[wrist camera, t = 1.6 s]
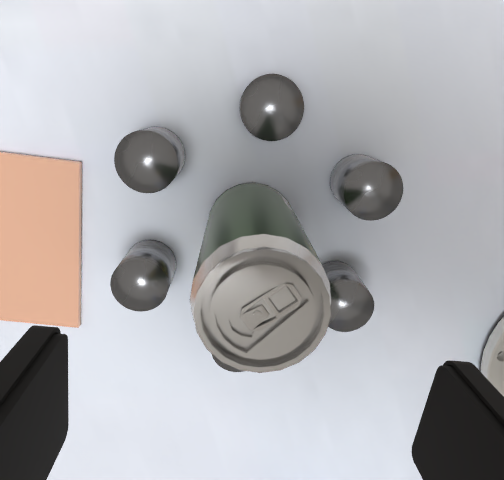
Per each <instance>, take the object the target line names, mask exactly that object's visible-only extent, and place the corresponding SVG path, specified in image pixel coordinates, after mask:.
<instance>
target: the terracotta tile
mask: <svg viewBox="0 0 504 480" xmlns="http://www.w3.org/2000/svg"><path fill="white" fill-rule="evenodd" d="M81 212H82V162H79V161H71V160H63V159H55V158H48V157H40V156H32V155H24V154H16V153H8V152H0V320H4V321H15V322H25V323H35V324H46V325H56V326H66V327H77V328H79V326H80V325H81Z"/></svg>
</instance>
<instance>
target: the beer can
mask: <svg viewBox="0 0 504 480" xmlns="http://www.w3.org/2000/svg"><path fill="white" fill-rule="evenodd" d="M190 304H191V309H192V315H193V320H194V322H195V325H196V330H197V333H198V335H199V337H200V338H201V340H202V342H203V344H204V345H205V347H206V349H207V350H208V351H210V352H211V353H212V354H213V355H214V356H215V357H216V358H218V359H219V360H220V361H221V362H223V363H225V364H227V365H230V366H232V367H234V368H236V369H239V370H244V371H251V372H258V373H262V372H270V371H278V370H282V369H284V368H287V367H289V366H292V365H294V364H296V363H299V362H300V361H301V360H303V359H304V358H305V357H306V356H308V355H309V354H310V353H311V352H313V351H314V350H315V349H316V347H317V346H318V344H319V343H320V341H321V340H322V338H323V337H324V335H325V334H326V331H327V327H328V324H329V320H330V317H331V310H330V305H331V294H330V282H329V280H328V277H327V275H326V273H325V271H324V268H323V266H322V264H321V262H320V260H319V258H318V256H317V255H316V253H315V251H314V249H313V247H312V245H311V243H310V242H309V240H308V238H307V236H306V234H305V232H304V230H303V229H302V227H301V225H300V223H299V221H298V219H297V217H296V216H295V214H294V212H293V210H292V208H291V206H290V204H289V202H288V201H287V200H286V199H285V198H284V197H283V196H282V195H281V194H280V193H279V192H278V191H276V190H274V189H273V188H271V187H269V186H267V185H262V184H257V183H247V184H240V185H237V186H235V187H233V188H231V189H229V190H226V191H225V192H224V193H223V194H222V195H221V196H220V197H219V198H218V199H217V200H216V201H215V203H214V205H213V207H212V209H211V211H210V213H209V218H208V222H207V226H206V230H205V234H204V238H203V242H202V246H201V250H200V254H199V258H198V262H197V266H196V270H195V275H194V279H193V284H192V290H191V296H190Z"/></svg>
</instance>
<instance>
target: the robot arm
mask: <svg viewBox="0 0 504 480" xmlns="http://www.w3.org/2000/svg"><path fill="white" fill-rule="evenodd" d="M67 431H68V337H67V335H66V334H61V333H60V329H59V328H57V327H45V326H32V327H30V328H29V329H28V331H27V332H26V333H25V334H24V335H23V336H22V338H21V339H20V340H19V341H18V342H17V343H16V345H15V346H14V347H13V348H12V349H11V350H10V351H9V353H8V354H7V355H6V356H5V357H4V358H3V360H2V361H1V362H0V480H46V479H47V477H48V475H49V473H50V471H51V469H52V467H53V465H54V462H55V460H56V458H57V456H58V454H59V452H60V450H61V448H62V446H63V443H64V441H65V439H66V435H67ZM412 457H413V461H414V463H415V465H416V467H417V469H418V471H419V473H420V475H421V476H422V478H423V480H504V317H503V318H502V319H501V320H500V321H499V323H498V324H497V326H496V327H495V329H494V330H493V332H492V334H491V335H490V337H489V339H488V342H487V344H486V346H485V349H484V351H483V357H482V362H481V372H480V371H479V370H478V369H477V368H476V367H475V365H473V364H472V363H470V362H461V361H446V362H445V363H444V364H443V366H439V367H438V369H437V371H436V374H435V377H434V380H433V383H432V386H431V390H430V393H429V396H428V399H427V402H426V405H425V408H424V411H423V414H422V417H421V420H420V424H419V427H418V430H417V433H416V436H415V439H414V442H413V445H412Z"/></svg>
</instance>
